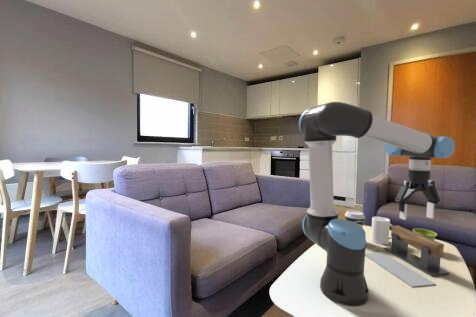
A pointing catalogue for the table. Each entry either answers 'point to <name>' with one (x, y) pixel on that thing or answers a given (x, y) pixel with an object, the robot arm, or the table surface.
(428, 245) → the rail
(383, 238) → the mug
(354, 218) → the coffee cup
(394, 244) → the stand
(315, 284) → the table surface
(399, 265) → the mat
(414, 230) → the plant pot
